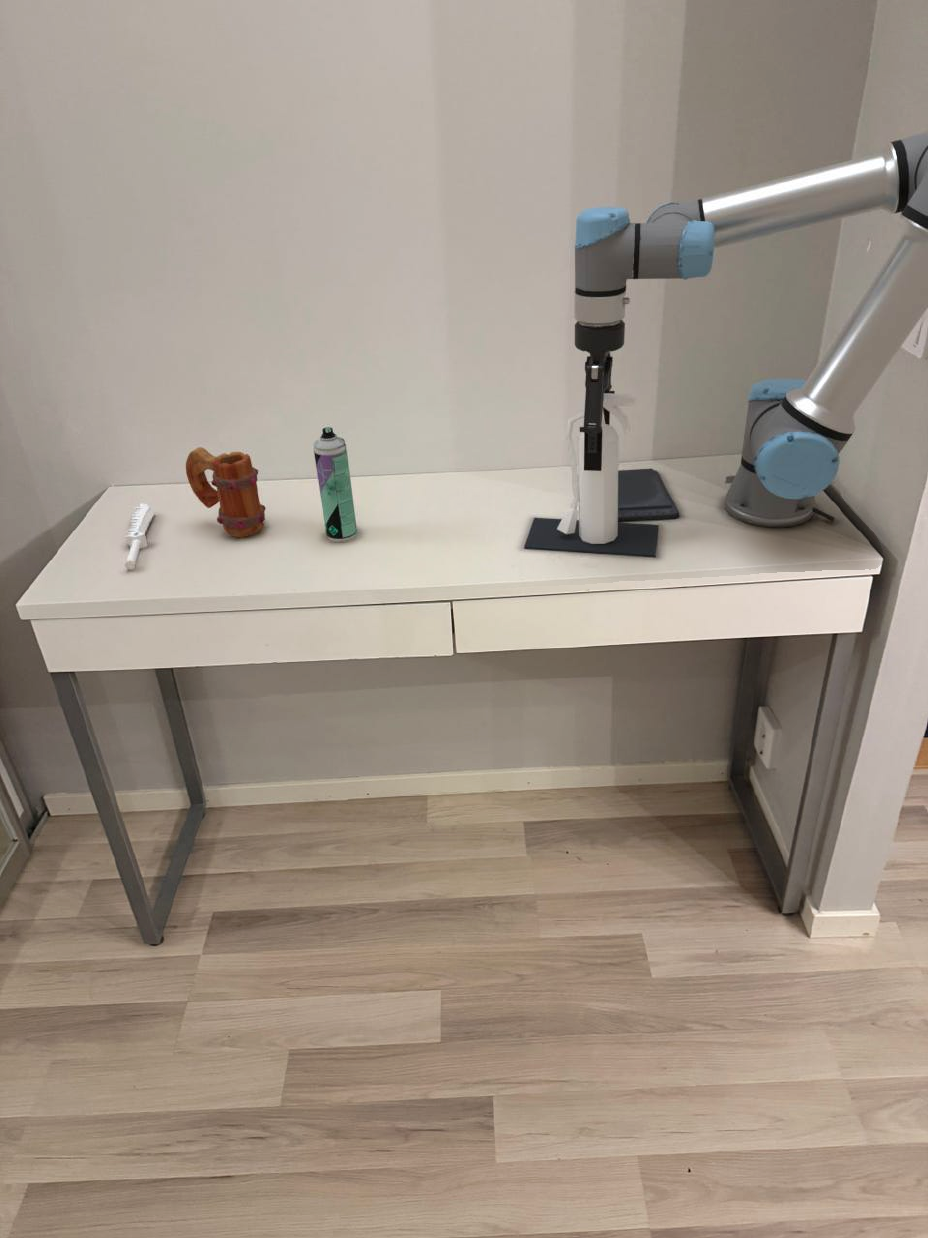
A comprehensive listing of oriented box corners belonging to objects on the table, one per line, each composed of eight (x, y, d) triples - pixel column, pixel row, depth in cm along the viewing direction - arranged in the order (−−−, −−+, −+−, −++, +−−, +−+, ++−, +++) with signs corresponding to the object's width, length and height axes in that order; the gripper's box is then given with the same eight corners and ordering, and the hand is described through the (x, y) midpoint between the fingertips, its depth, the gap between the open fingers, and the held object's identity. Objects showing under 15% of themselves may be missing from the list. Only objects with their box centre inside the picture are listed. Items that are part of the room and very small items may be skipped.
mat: (658, 526, 158) (658, 524, 158) (655, 557, 149) (655, 555, 149) (534, 519, 163) (534, 517, 162) (524, 548, 154) (524, 546, 153)
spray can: (344, 525, 164) (330, 420, 153) (363, 534, 161) (350, 427, 150) (320, 536, 161) (304, 429, 150) (339, 545, 158) (324, 437, 147)
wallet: (681, 509, 159) (594, 513, 159) (680, 518, 160) (594, 522, 160) (659, 463, 176) (581, 467, 176) (659, 472, 177) (581, 476, 177)
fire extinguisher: (557, 526, 159) (558, 388, 145) (626, 526, 158) (634, 387, 144) (556, 544, 153) (557, 402, 140) (628, 545, 152) (636, 401, 138)
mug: (279, 524, 166) (265, 447, 157) (253, 544, 160) (237, 465, 151) (215, 512, 171) (199, 438, 163) (187, 531, 165) (169, 455, 157)
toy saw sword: (117, 573, 153) (136, 515, 172) (141, 570, 154) (157, 513, 172) (113, 559, 152) (133, 503, 170) (138, 557, 152) (154, 501, 171)
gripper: (618, 345, 125) (613, 485, 136) (630, 299, 145) (625, 425, 157) (564, 344, 126) (564, 483, 138) (584, 299, 147) (582, 424, 158)
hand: (596, 452), depth 147 cm, fingers open, 13 cm apart
